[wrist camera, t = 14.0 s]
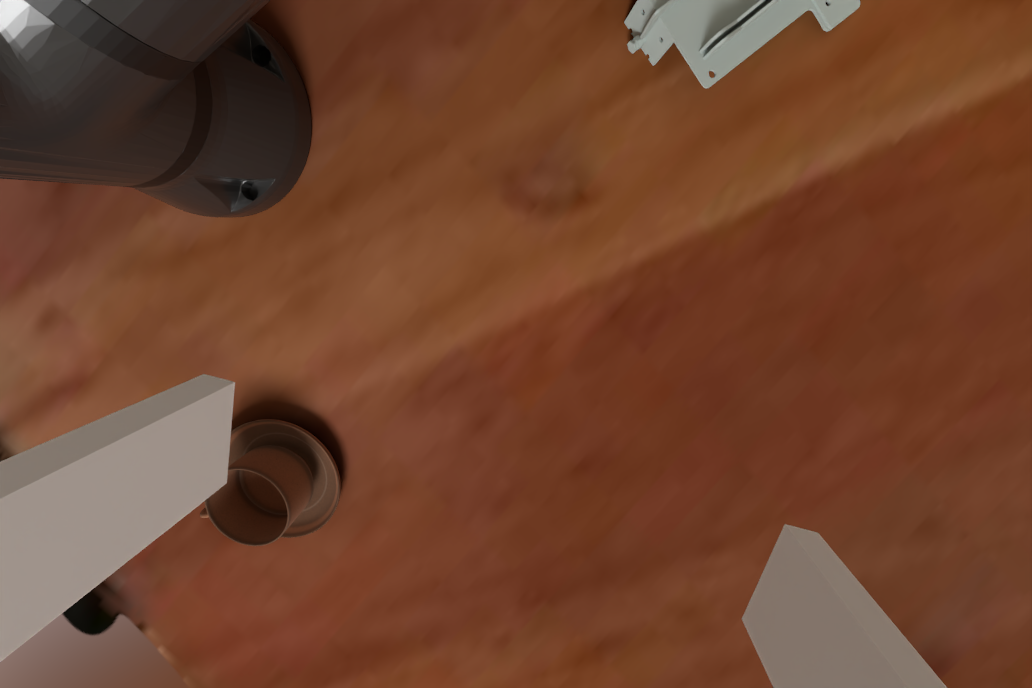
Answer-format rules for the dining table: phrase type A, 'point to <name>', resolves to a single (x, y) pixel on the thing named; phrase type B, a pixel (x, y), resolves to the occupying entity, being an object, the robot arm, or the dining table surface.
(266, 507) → the cup and saucer
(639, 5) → the metal bracket
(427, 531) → the dining table surface
